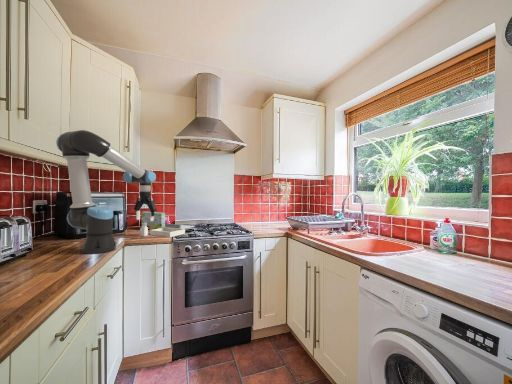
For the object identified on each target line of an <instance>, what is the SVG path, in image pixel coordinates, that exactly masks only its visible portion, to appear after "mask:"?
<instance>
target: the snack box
mask: <svg viewBox="0 0 512 384" xmlns="http://www.w3.org/2000/svg"><path fill="white" fill-rule="evenodd" d="M140 220H141V223H140V225H141V227H142V223H147V227H148V229H149V230H148V231H150V230H153V229H159V228H162V227H164V226H165V224H166V212H160V211H158V212H157V211H154V221H150V211H140ZM141 227H140V228H141Z"/></svg>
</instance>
